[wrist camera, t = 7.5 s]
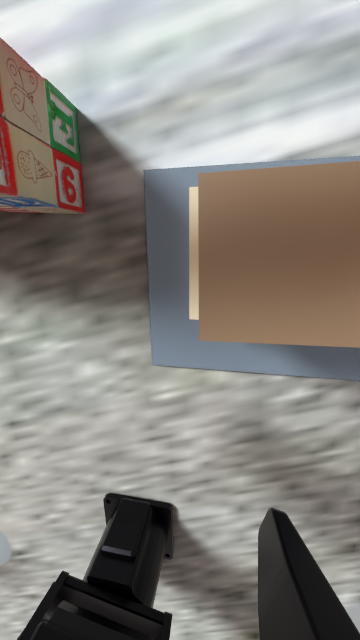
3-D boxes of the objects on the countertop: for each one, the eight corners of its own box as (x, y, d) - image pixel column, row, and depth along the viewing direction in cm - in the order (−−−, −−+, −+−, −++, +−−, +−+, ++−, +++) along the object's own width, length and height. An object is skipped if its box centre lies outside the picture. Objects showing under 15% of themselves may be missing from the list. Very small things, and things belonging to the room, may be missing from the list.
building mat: (373, 378, 17) (376, 382, 16) (153, 362, 20) (151, 365, 19) (423, 154, 13) (430, 150, 13) (145, 171, 16) (143, 169, 15)
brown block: (310, 306, 12) (365, 347, 7) (210, 304, 12) (198, 340, 8) (323, 197, 10) (401, 157, 6) (211, 203, 11) (198, 173, 6)
